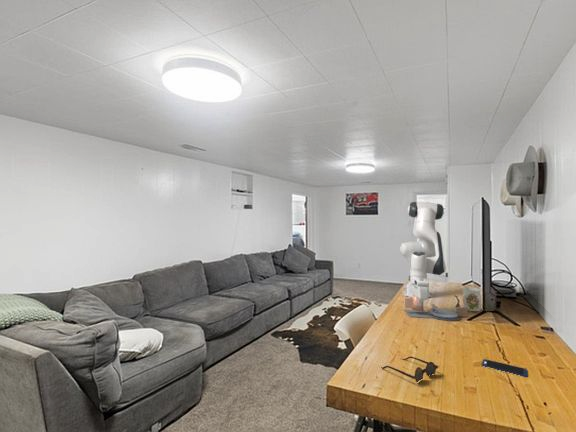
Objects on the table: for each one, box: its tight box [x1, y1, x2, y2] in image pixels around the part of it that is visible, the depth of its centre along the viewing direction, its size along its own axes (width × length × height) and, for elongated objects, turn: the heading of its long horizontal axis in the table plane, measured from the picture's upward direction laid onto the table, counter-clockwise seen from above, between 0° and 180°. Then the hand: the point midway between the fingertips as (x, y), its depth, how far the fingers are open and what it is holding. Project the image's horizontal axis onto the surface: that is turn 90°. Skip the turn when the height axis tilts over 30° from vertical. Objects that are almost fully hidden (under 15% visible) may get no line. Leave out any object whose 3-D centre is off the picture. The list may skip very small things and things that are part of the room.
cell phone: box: [481, 358, 528, 378], centre depth 119 cm, size 7×14×1 cm, turn 54°
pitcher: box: [458, 285, 482, 312], centre depth 196 cm, size 11×18×14 cm, turn 61°
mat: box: [402, 308, 433, 319], centre depth 186 cm, size 14×12×1 cm
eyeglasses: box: [380, 356, 439, 383], centre depth 116 cm, size 15×15×5 cm
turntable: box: [429, 303, 468, 319], centre depth 183 cm, size 20×14×5 cm
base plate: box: [427, 311, 462, 322], centre depth 183 cm, size 17×17×1 cm
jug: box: [403, 295, 424, 311], centre depth 186 cm, size 6×12×8 cm, turn 86°
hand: (417, 303), depth 186 cm, fingers closed on jug, 6 cm apart
